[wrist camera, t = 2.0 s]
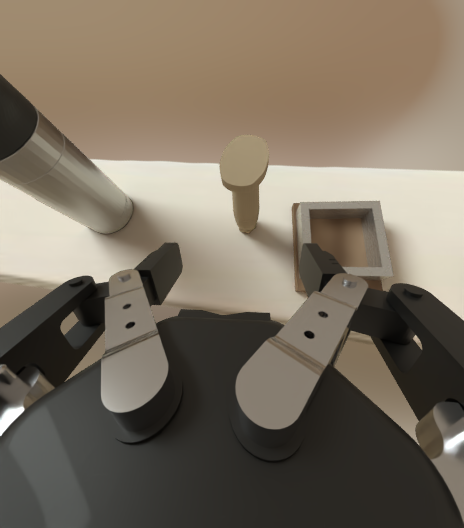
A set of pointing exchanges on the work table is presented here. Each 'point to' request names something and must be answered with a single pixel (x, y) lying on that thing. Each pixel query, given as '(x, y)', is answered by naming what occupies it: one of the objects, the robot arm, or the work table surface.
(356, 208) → the collar
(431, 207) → the work table surface
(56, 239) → the work table surface
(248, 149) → the handle
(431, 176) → the work table surface
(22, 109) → the robot arm
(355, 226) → the board
